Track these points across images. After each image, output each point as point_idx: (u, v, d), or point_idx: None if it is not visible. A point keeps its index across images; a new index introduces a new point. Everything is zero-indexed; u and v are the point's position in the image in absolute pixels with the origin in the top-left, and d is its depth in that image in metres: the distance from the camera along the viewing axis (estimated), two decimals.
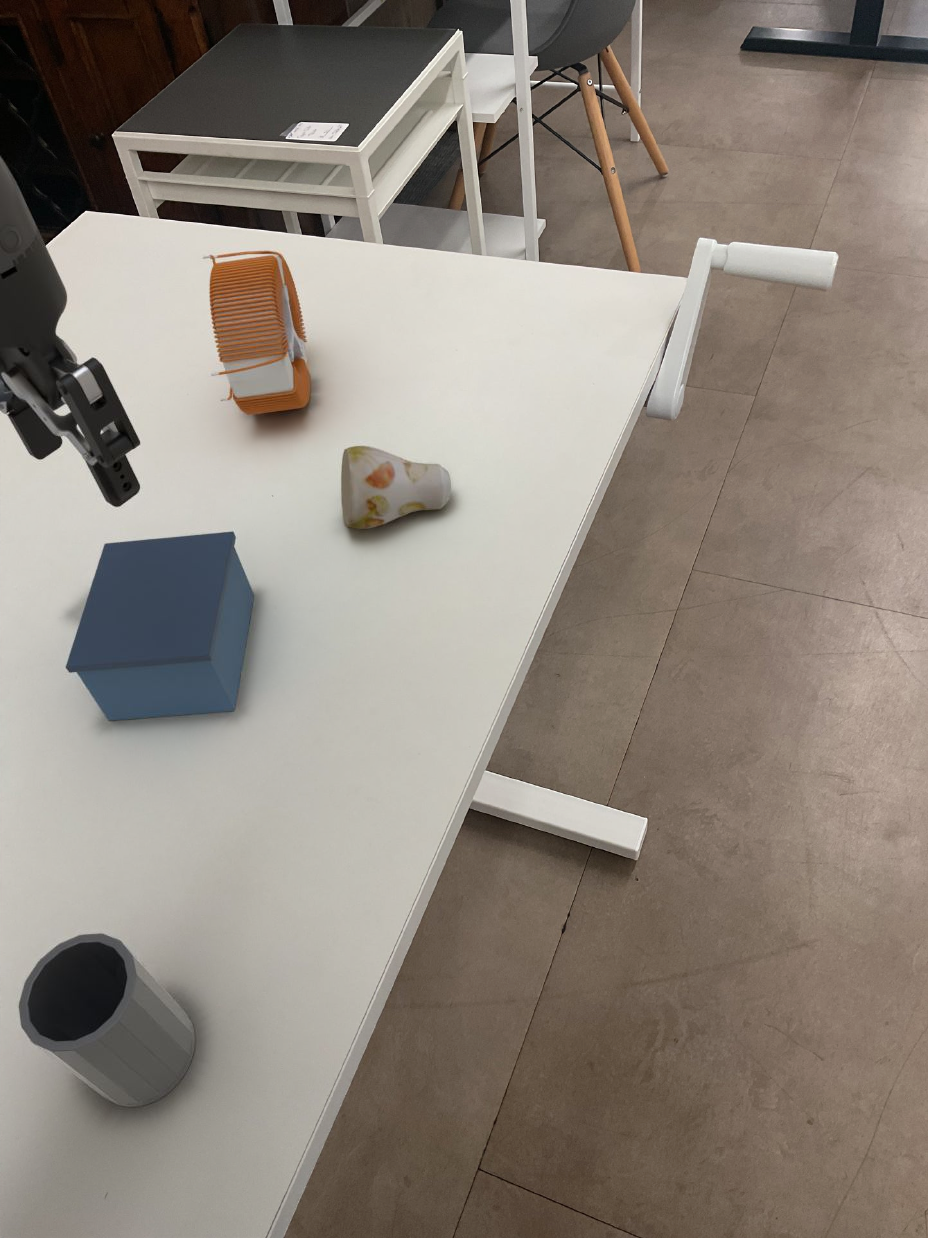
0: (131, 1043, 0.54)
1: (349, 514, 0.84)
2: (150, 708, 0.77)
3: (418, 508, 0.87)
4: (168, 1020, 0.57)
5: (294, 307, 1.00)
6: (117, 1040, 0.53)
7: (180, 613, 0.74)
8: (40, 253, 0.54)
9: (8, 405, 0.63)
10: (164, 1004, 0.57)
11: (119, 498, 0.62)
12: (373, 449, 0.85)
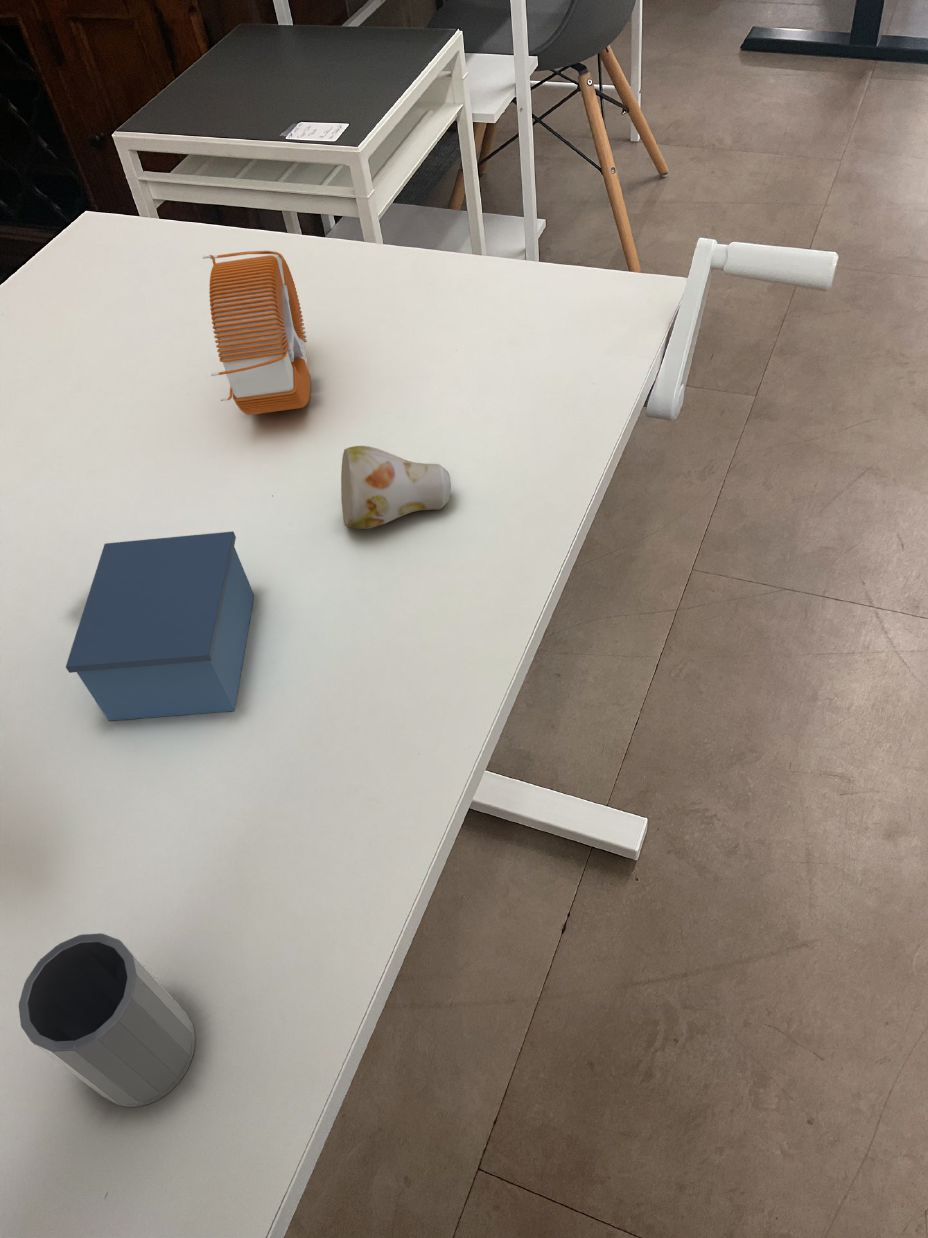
0: (131, 1043, 0.54)
1: (349, 514, 0.84)
2: (150, 708, 0.77)
3: (418, 508, 0.87)
4: (168, 1020, 0.57)
5: (294, 307, 1.00)
6: (117, 1040, 0.53)
7: (180, 613, 0.74)
8: None
9: None
10: (164, 1004, 0.57)
11: None
12: (373, 449, 0.85)
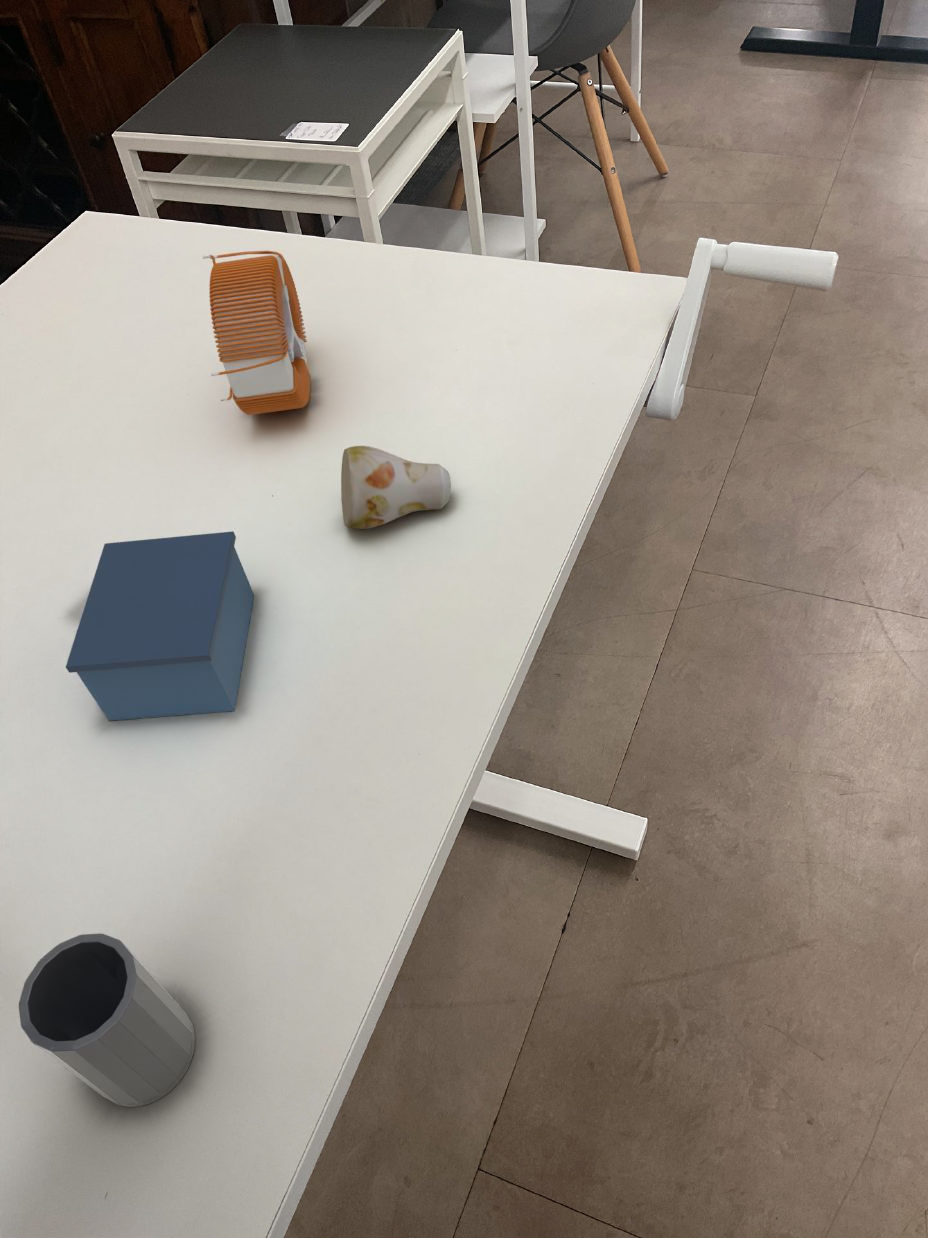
0: (131, 1043, 0.54)
1: (349, 514, 0.84)
2: (150, 708, 0.77)
3: (418, 508, 0.87)
4: (168, 1020, 0.57)
5: (294, 307, 1.00)
6: (117, 1040, 0.53)
7: (180, 613, 0.74)
8: None
9: None
10: (164, 1004, 0.57)
11: None
12: (373, 449, 0.85)
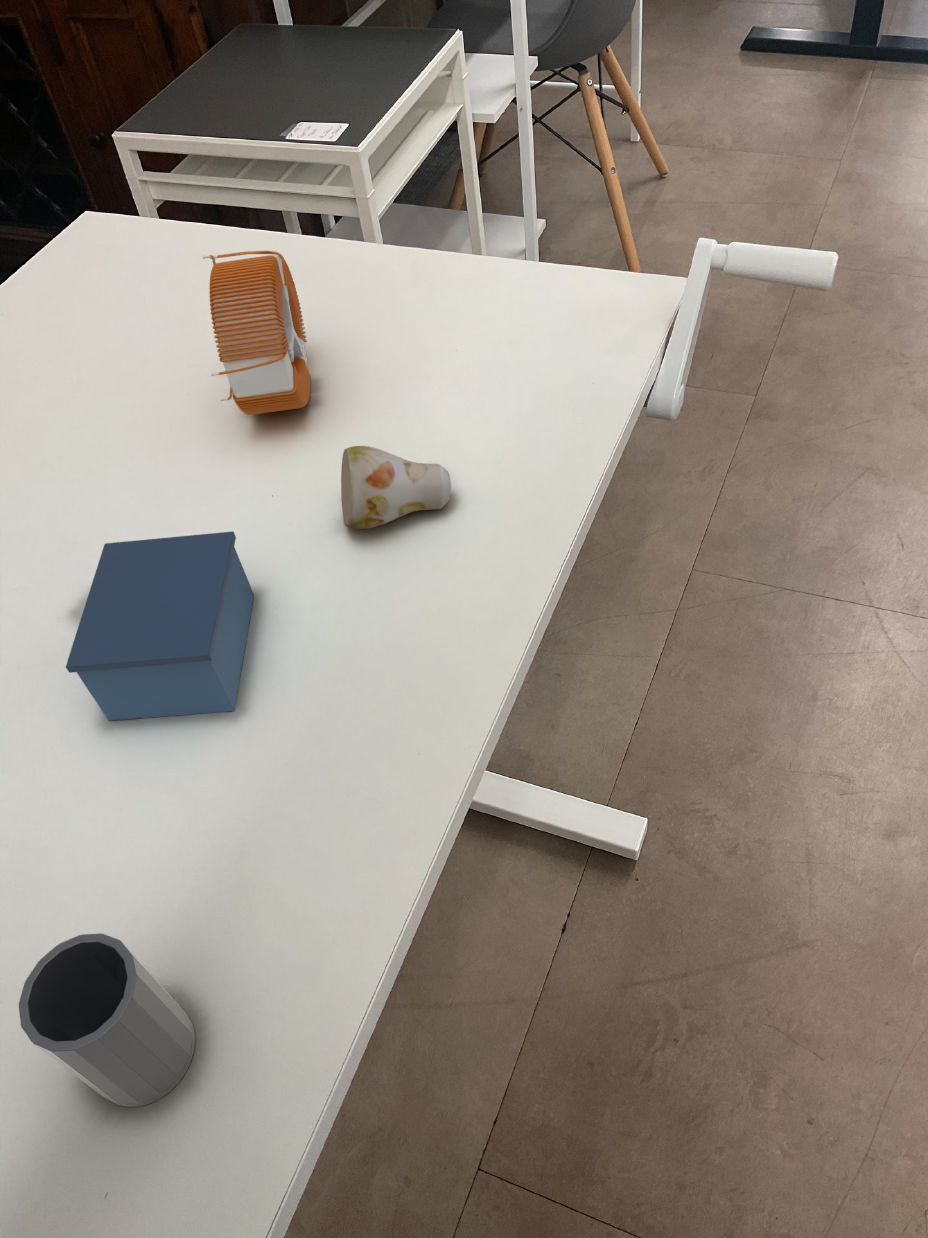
0: (131, 1043, 0.54)
1: (349, 514, 0.84)
2: (150, 708, 0.77)
3: (418, 508, 0.87)
4: (168, 1020, 0.57)
5: (294, 307, 1.00)
6: (117, 1040, 0.53)
7: (180, 613, 0.74)
8: None
9: None
10: (164, 1004, 0.57)
11: None
12: (373, 449, 0.85)
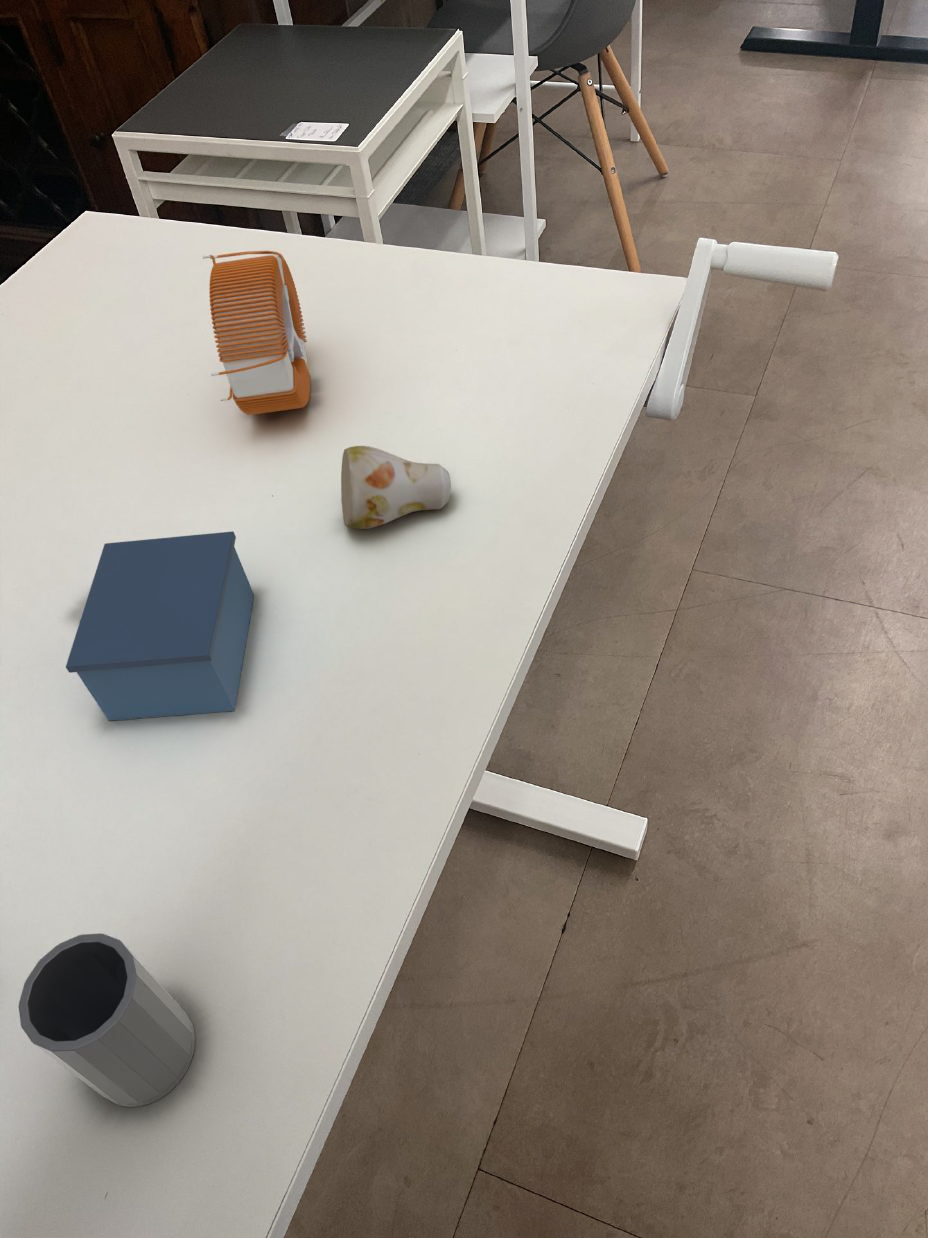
0: (131, 1043, 0.54)
1: (349, 514, 0.84)
2: (150, 708, 0.77)
3: (418, 508, 0.87)
4: (168, 1020, 0.57)
5: (294, 307, 1.00)
6: (117, 1040, 0.53)
7: (180, 613, 0.74)
8: None
9: None
10: (164, 1004, 0.57)
11: None
12: (373, 449, 0.85)
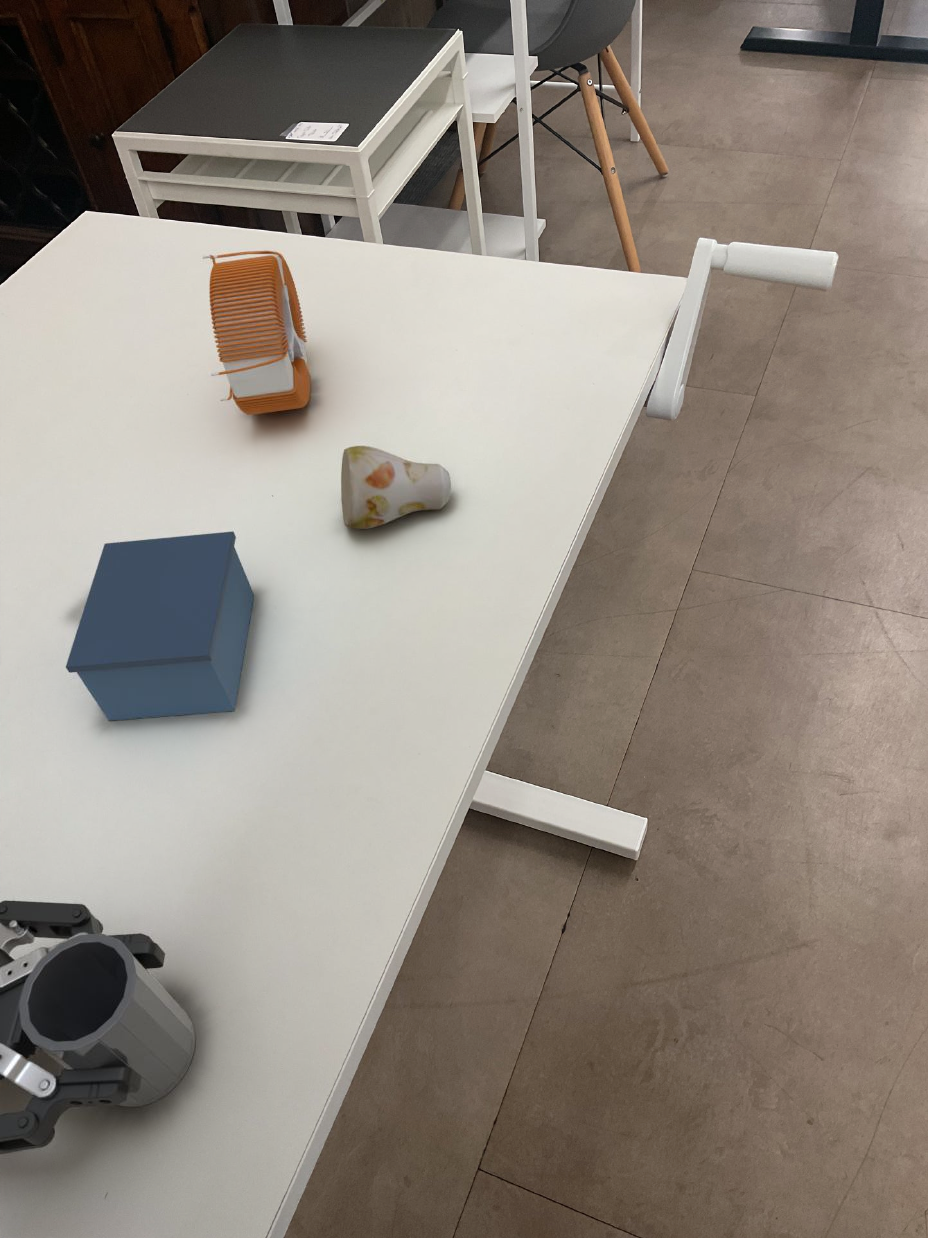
0: (131, 1043, 0.54)
1: (349, 514, 0.84)
2: (150, 708, 0.77)
3: (418, 508, 0.87)
4: (168, 1020, 0.57)
5: (294, 307, 1.00)
6: (117, 1040, 0.53)
7: (180, 613, 0.74)
8: None
9: (42, 1069, 0.54)
10: (164, 1004, 0.57)
11: (143, 936, 0.58)
12: (373, 449, 0.85)
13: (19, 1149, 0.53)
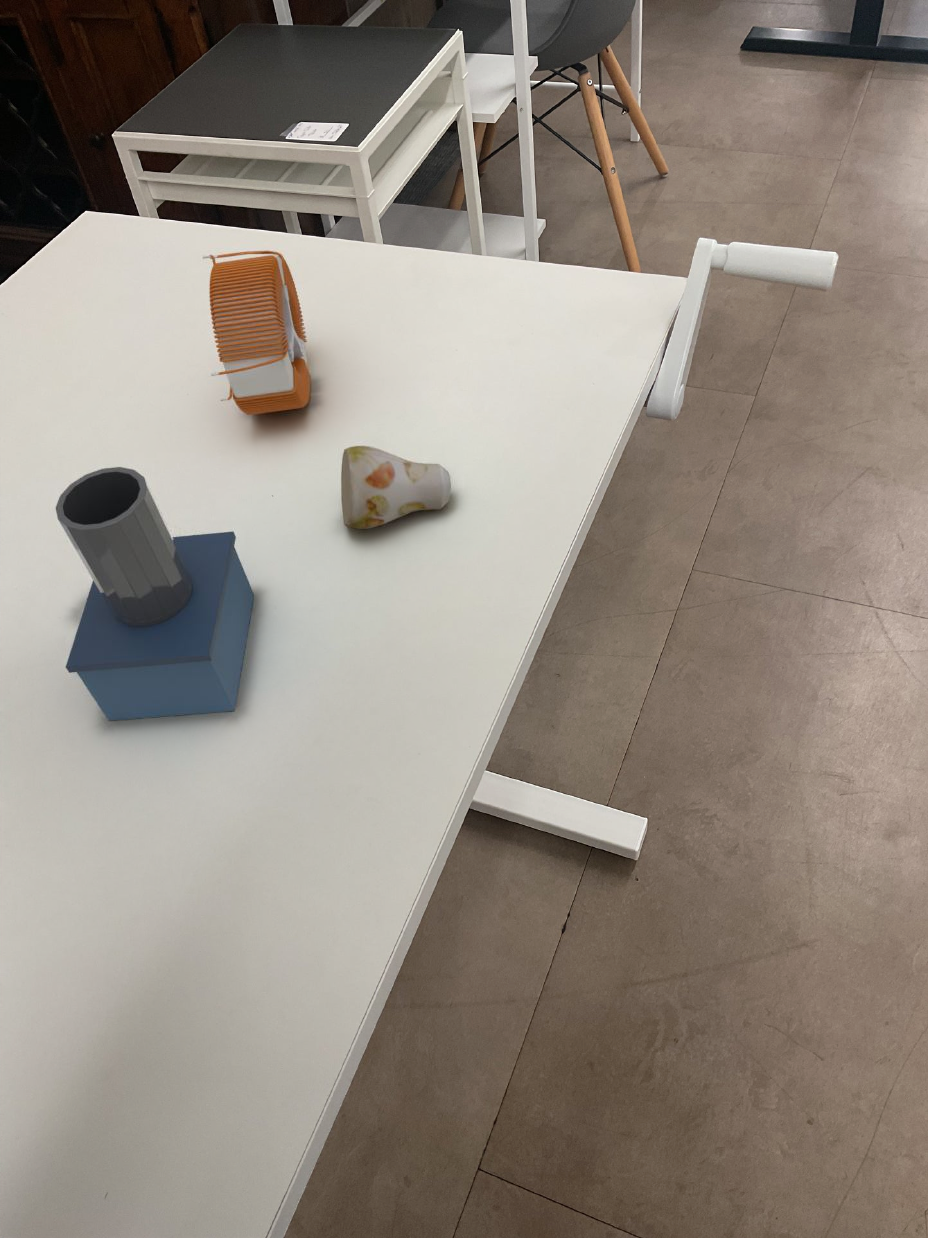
0: (143, 542, 0.69)
1: (349, 514, 0.84)
2: (150, 708, 0.77)
3: (418, 508, 0.87)
4: (171, 547, 0.72)
5: (294, 307, 1.00)
6: (132, 532, 0.68)
7: (180, 613, 0.74)
8: None
9: None
10: (168, 532, 0.72)
11: None
12: (373, 449, 0.85)
13: None
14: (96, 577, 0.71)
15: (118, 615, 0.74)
